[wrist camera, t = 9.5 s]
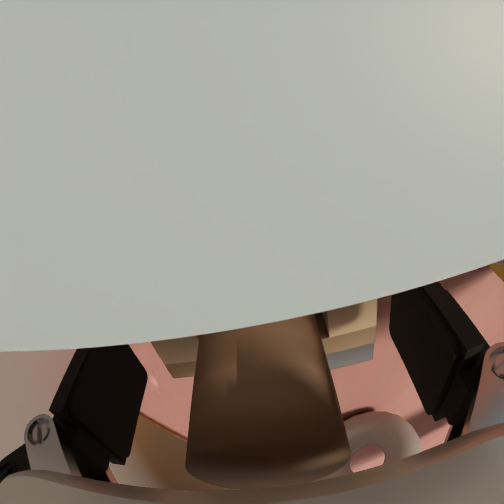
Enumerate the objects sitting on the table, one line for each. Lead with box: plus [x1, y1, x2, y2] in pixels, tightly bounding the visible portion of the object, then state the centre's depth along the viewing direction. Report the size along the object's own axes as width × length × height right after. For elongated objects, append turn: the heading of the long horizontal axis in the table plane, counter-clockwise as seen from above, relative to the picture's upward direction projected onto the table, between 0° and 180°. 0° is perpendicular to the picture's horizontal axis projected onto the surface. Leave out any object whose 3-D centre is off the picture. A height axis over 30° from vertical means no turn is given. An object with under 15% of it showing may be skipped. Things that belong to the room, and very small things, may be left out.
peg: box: [185, 314, 351, 490], centre depth 10 cm, size 4×4×10 cm
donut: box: [316, 411, 422, 481], centre depth 21 cm, size 10×4×10 cm, turn 119°
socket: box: [151, 299, 377, 378], centre depth 11 cm, size 14×9×4 cm, turn 13°
